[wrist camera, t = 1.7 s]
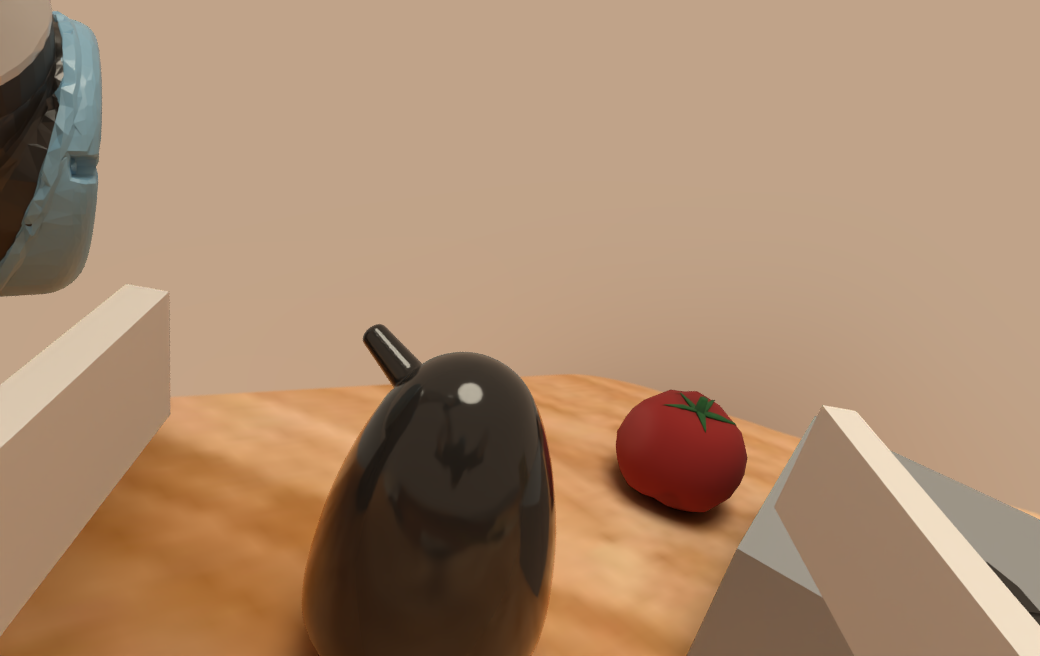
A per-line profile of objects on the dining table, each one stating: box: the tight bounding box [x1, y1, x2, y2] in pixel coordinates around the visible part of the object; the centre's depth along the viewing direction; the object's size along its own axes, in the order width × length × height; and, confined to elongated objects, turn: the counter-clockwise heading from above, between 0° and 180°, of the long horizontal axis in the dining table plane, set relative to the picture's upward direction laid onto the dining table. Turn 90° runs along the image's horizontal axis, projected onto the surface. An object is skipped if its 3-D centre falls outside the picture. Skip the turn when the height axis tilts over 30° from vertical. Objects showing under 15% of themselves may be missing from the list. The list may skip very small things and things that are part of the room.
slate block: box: [687, 416, 1040, 656], centre depth 34 cm, size 16×16×8 cm
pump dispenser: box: [302, 324, 556, 656], centre depth 28 cm, size 10×10×15 cm
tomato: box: [616, 390, 747, 512], centre depth 44 cm, size 8×8×7 cm
